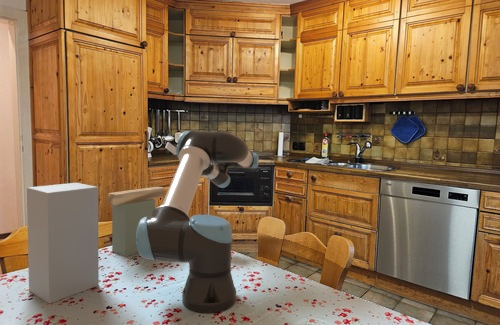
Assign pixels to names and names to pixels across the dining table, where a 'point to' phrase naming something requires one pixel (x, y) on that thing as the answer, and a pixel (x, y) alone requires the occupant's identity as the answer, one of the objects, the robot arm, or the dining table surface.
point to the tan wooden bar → (135, 195)
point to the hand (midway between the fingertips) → (178, 145)
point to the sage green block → (128, 225)
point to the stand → (62, 240)
